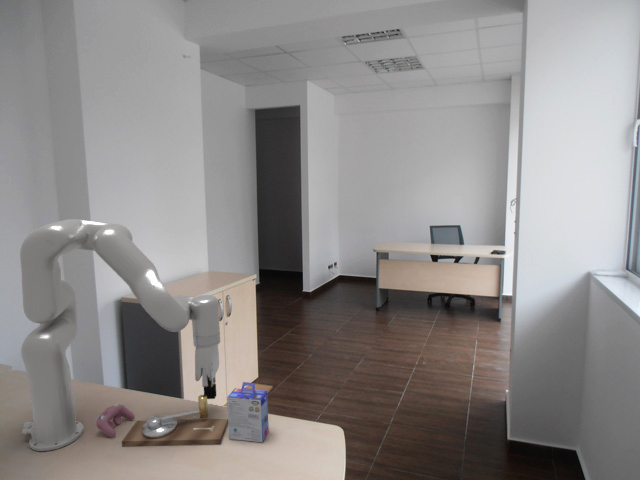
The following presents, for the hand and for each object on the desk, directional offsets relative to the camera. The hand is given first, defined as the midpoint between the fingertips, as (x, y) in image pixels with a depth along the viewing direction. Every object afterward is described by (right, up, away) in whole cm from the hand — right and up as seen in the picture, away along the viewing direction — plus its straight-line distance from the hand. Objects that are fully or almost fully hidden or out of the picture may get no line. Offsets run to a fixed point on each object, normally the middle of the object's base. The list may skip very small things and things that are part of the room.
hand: (210, 397), depth 124 cm
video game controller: (-26, -7, -5) cm, 27 cm away
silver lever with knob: (-8, -5, -7) cm, 12 cm away
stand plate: (-7, -7, -9) cm, 13 cm away
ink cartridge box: (+13, -7, -10) cm, 18 cm away
